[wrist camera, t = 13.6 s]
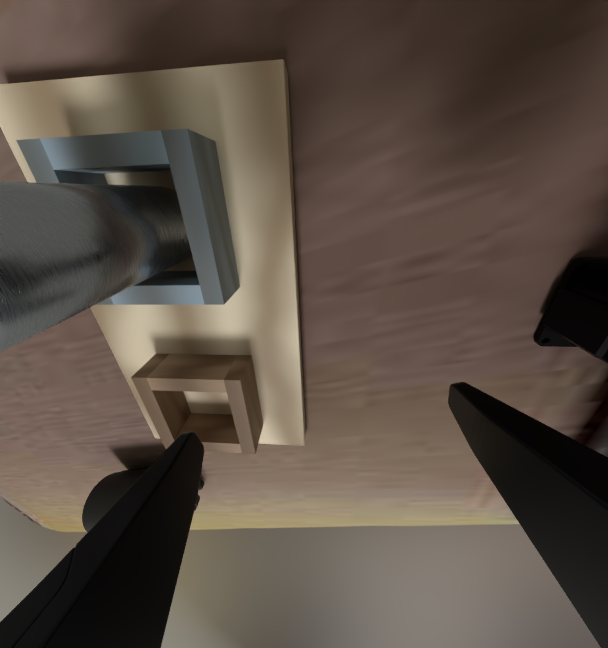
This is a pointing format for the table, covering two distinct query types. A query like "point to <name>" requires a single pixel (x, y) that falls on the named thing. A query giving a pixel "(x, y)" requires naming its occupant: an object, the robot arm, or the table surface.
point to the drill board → (190, 237)
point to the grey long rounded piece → (79, 248)
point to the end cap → (111, 495)
